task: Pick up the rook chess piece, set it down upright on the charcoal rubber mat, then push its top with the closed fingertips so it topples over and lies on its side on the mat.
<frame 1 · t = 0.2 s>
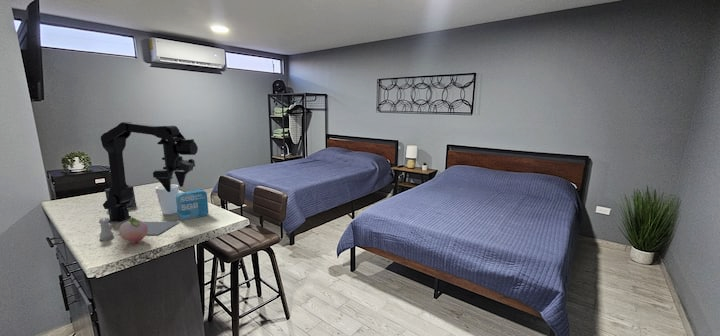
hand: (175, 189, 134), 14 cm above the countertop, fingers open, 9 cm apart
mat: (150, 228, 126), on the countertop
data package: (193, 217, 141), on the countertop
small box: (122, 207, 155), on the countertop
foam cup: (170, 212, 147), on the countertop
decorative fruit: (135, 243, 113), on the countertop
rook chess piece: (107, 238, 117), on the countertop
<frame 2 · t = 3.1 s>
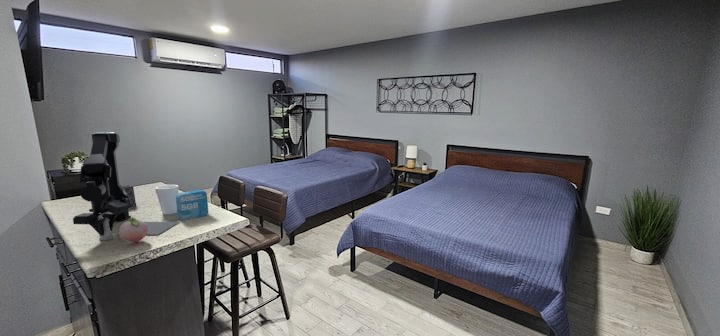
hand: (106, 233, 116), 2 cm above the countertop, fingers closed on rook chess piece, 3 cm apart
rook chess piece: (107, 238, 117), on the countertop, touching gripper
everything else where it was.
when the fingers open (3 cm above the countertop, at t = 6.7 s): rook chess piece stays where it is, resting on mat.
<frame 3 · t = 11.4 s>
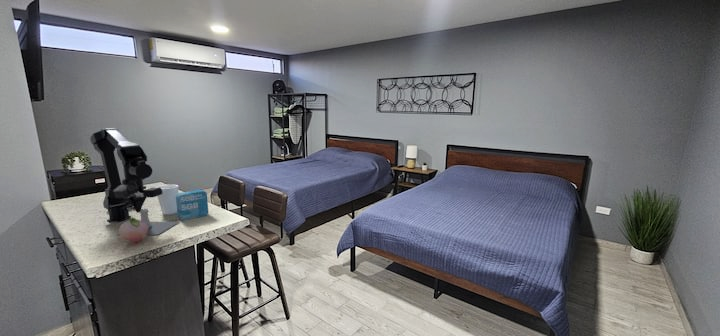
hand: (138, 212, 125), 7 cm above the countertop, fingers closed
rook chess piece: (145, 228, 126), resting on mat, touching gripper
everything else where it was.
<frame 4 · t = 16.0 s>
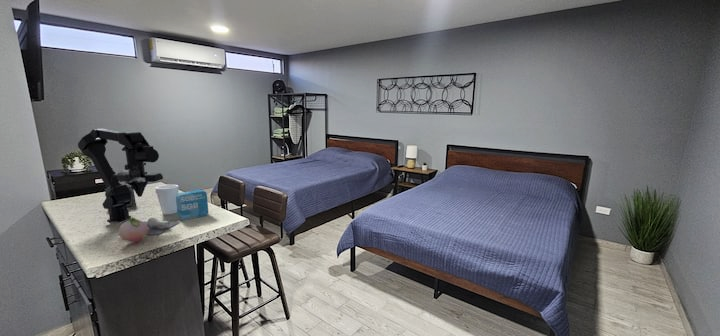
hand: (140, 196, 131), 12 cm above the countertop, fingers closed
rook chess piece: (149, 222, 126), point 3 cm above the countertop, touching mat
everything else where it was.
at the end: rook chess piece tilted 95°; rook chess piece inside the target area (1.9 cm from its centre), point 2.7 cm above the countertop; the gripper is holding nothing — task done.
